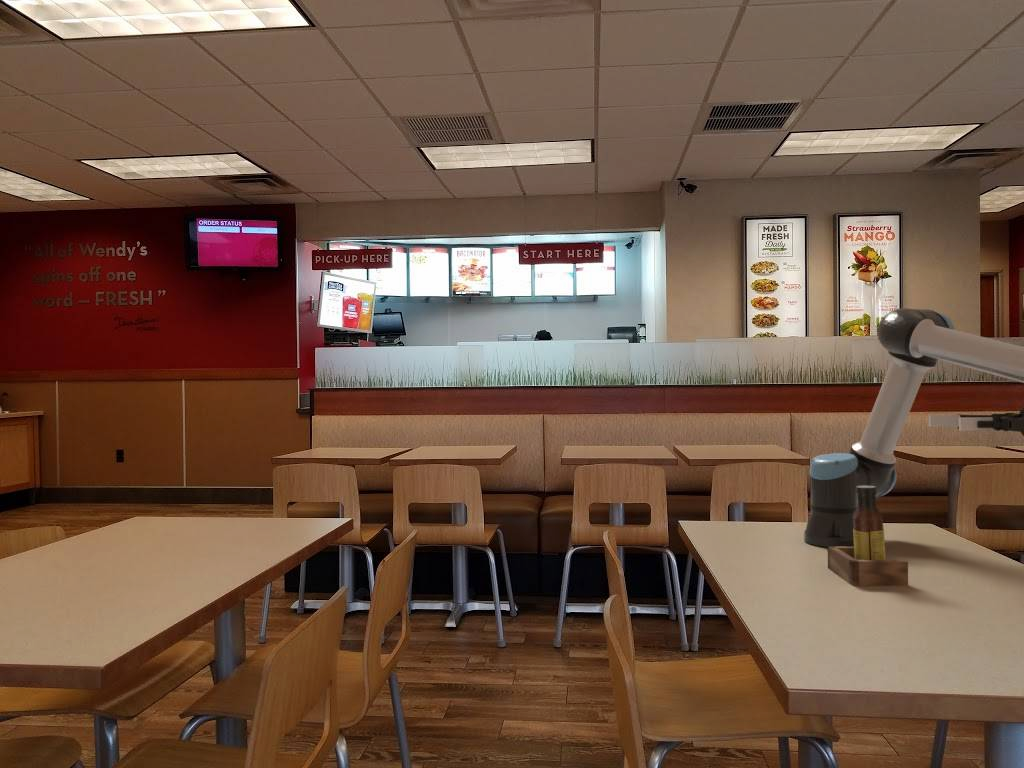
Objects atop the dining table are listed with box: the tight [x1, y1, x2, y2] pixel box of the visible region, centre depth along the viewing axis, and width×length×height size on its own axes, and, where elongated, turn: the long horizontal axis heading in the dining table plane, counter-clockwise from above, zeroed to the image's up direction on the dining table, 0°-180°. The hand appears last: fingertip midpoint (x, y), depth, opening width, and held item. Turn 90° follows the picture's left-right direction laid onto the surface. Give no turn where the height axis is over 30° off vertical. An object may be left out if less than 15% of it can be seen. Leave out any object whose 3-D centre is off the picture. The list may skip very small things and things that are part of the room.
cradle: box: [827, 546, 909, 587], centre depth 168 cm, size 12×15×5 cm
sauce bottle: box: [853, 485, 887, 560], centre depth 168 cm, size 6×6×20 cm
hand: (943, 422), depth 167 cm, fingers open, 13 cm apart
